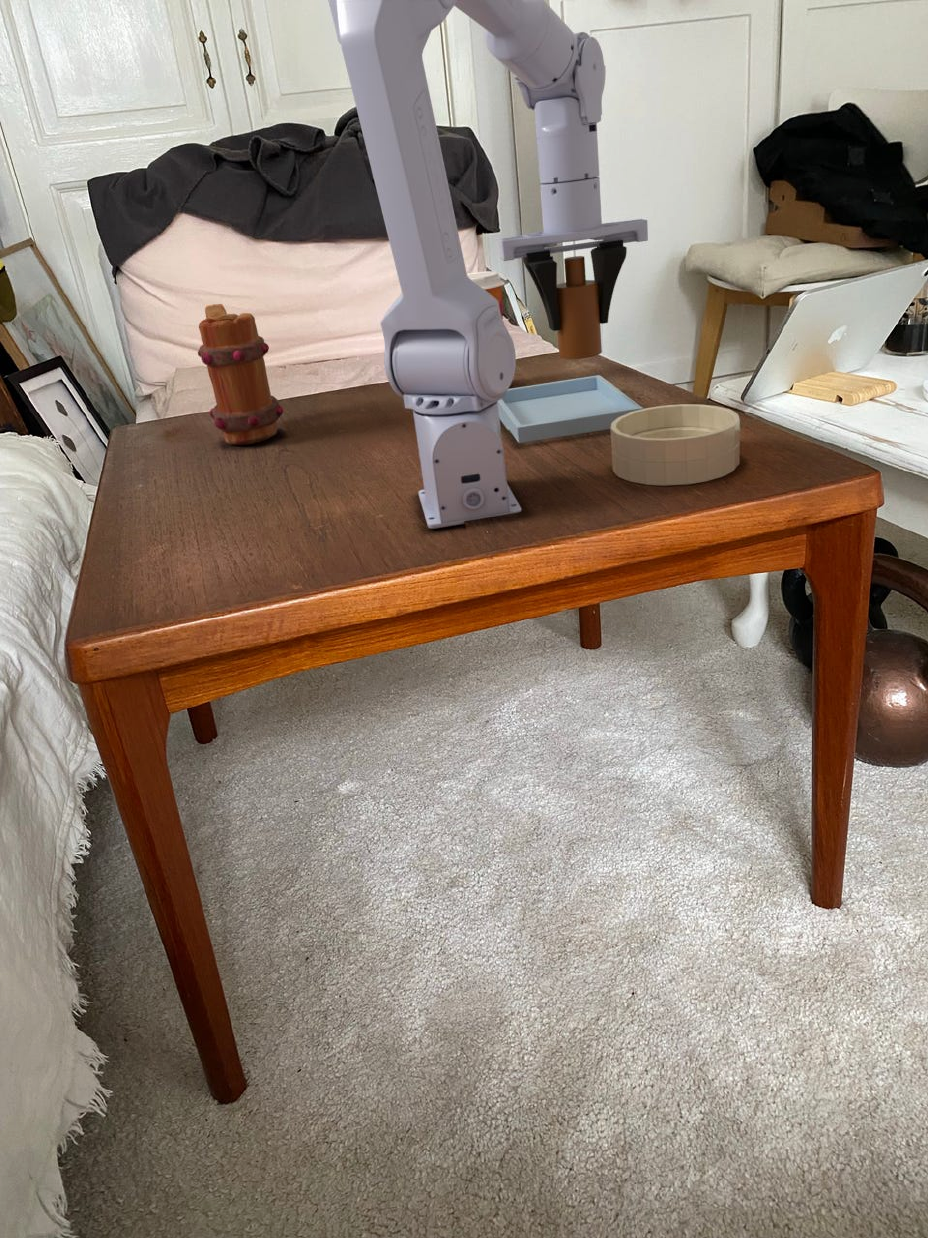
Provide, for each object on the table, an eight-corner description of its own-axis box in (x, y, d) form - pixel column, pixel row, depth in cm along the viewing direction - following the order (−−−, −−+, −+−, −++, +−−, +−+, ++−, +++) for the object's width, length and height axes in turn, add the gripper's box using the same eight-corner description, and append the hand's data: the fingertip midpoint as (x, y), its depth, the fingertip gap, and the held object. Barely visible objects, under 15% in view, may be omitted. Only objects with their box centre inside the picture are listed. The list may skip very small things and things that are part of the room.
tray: (644, 427, 98) (643, 407, 97) (519, 447, 97) (517, 427, 97) (600, 392, 114) (599, 374, 113) (492, 408, 113) (490, 391, 112)
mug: (294, 440, 111) (266, 307, 104) (224, 455, 108) (192, 320, 102) (270, 416, 123) (244, 296, 116) (207, 429, 121) (177, 307, 114)
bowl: (759, 478, 81) (760, 426, 79) (633, 498, 80) (631, 447, 78) (711, 444, 91) (711, 397, 89) (599, 462, 90) (596, 415, 88)
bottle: (606, 354, 97) (601, 256, 93) (564, 361, 96) (557, 262, 92) (595, 347, 101) (590, 252, 96) (555, 353, 100) (547, 258, 96)
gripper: (631, 169, 95) (636, 309, 101) (489, 189, 94) (503, 329, 100) (652, 170, 89) (656, 319, 95) (500, 191, 88) (514, 340, 94)
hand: (578, 325), depth 97 cm, fingers closed on bottle, 4 cm apart
